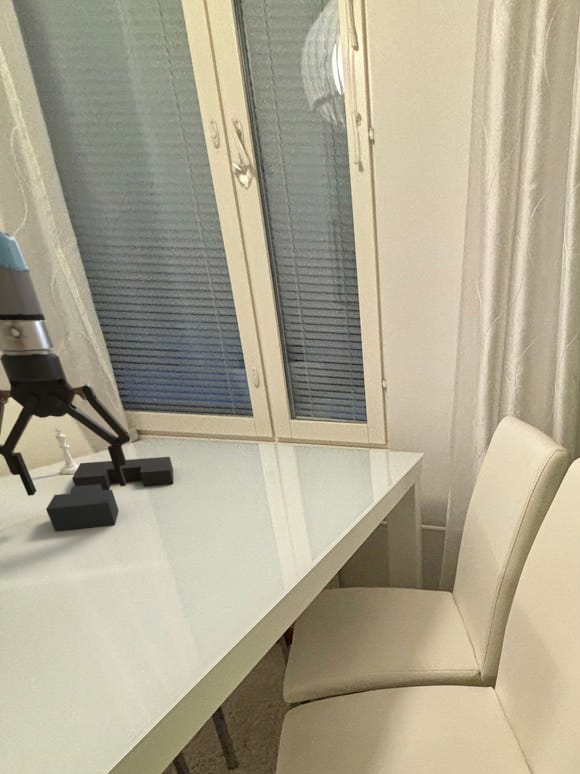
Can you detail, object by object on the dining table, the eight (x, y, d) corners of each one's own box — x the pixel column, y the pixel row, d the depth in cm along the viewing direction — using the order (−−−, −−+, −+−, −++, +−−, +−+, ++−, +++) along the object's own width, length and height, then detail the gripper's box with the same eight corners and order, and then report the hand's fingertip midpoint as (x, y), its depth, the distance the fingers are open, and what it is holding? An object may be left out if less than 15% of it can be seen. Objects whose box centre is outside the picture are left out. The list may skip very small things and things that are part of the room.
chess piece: (66, 475, 125) (49, 429, 120) (56, 472, 127) (39, 426, 122) (89, 471, 128) (74, 426, 123) (79, 467, 131) (63, 423, 125)
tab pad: (54, 531, 94) (45, 508, 92) (66, 508, 104) (58, 487, 102) (115, 524, 97) (107, 502, 95) (120, 503, 108) (113, 482, 106)
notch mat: (77, 492, 114) (71, 478, 112) (85, 476, 124) (80, 463, 123) (173, 483, 120) (169, 470, 119) (173, 469, 131) (169, 456, 130)
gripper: (-84, 356, 77) (-15, 503, 88) (118, 352, 87) (158, 485, 98) (-66, 353, 83) (-4, 491, 94) (121, 349, 93) (158, 475, 104)
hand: (79, 488), depth 96 cm, fingers open, 13 cm apart
